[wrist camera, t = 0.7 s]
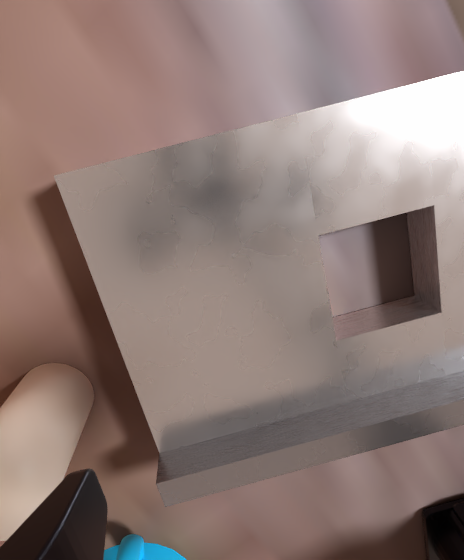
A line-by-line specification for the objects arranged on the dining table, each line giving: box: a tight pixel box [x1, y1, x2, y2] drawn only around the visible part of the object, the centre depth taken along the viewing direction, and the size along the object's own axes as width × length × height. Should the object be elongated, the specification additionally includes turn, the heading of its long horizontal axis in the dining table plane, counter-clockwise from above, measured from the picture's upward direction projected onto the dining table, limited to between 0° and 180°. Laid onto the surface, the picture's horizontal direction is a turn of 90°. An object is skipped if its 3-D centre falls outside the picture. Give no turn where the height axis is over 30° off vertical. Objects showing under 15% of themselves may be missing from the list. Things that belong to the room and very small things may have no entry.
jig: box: [54, 71, 464, 507], centre depth 19 cm, size 16×20×4 cm
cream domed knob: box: [0, 363, 94, 541], centre depth 18 cm, size 4×4×7 cm
